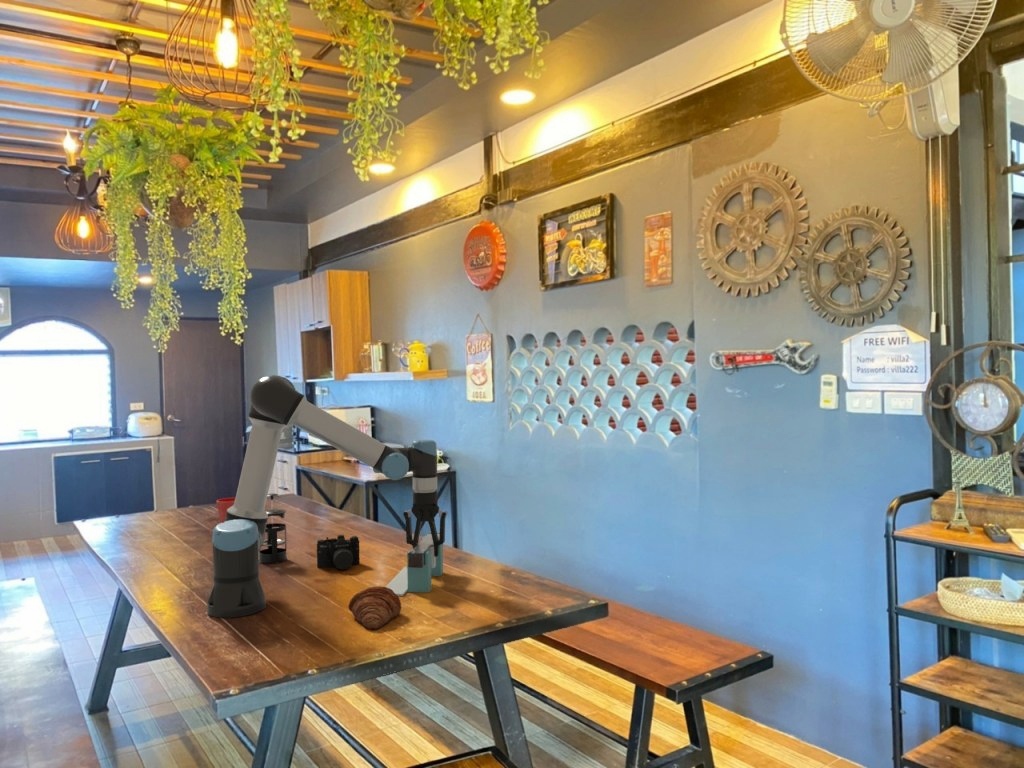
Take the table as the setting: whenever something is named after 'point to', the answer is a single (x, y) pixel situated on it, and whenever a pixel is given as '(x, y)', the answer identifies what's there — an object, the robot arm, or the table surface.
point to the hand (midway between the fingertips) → (426, 566)
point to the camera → (338, 552)
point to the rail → (420, 552)
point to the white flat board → (399, 583)
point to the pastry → (375, 606)
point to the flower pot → (224, 507)
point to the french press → (273, 539)
